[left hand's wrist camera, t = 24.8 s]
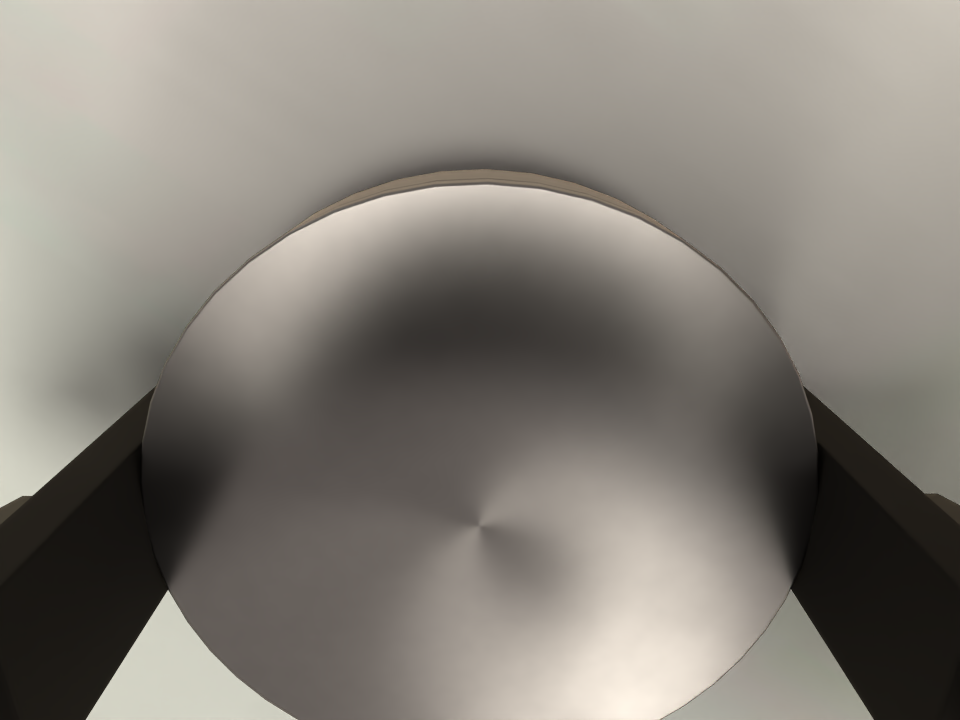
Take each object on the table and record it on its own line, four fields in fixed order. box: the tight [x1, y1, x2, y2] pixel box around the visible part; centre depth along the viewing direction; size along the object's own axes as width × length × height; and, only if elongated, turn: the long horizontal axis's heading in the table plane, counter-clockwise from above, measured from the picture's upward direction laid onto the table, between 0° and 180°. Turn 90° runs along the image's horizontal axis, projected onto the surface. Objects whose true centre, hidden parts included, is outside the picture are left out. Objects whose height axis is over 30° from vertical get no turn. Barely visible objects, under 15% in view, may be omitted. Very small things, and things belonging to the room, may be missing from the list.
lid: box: [140, 169, 818, 720], centre depth 11 cm, size 10×10×2 cm
